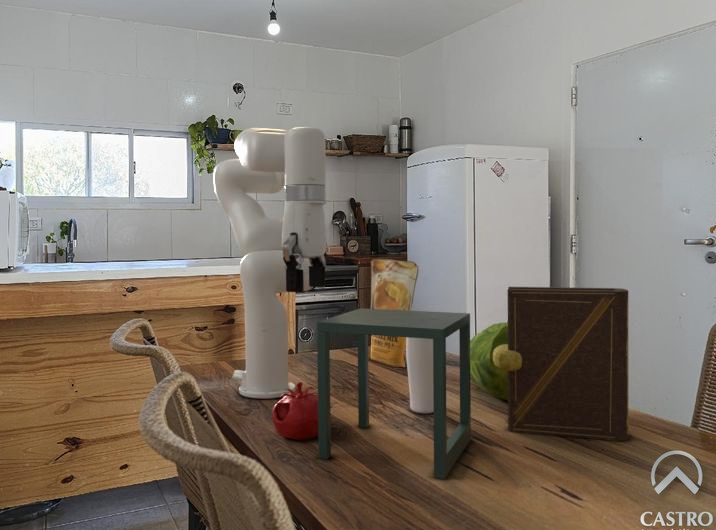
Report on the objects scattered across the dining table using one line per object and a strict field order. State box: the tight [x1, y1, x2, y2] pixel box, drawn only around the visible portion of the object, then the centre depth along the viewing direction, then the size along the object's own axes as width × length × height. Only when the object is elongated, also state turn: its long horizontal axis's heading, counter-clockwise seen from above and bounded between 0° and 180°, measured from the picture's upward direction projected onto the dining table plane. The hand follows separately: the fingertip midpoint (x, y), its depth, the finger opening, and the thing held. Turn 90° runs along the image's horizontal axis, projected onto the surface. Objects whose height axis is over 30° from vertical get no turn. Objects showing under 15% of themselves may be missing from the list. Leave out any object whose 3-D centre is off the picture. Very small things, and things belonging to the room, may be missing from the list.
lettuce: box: [470, 321, 508, 402], centre depth 129 cm, size 17×23×16 cm
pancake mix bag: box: [369, 258, 419, 368], centre depth 163 cm, size 7×19×28 cm, turn 28°
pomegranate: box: [271, 381, 319, 441], centre depth 105 cm, size 10×10×9 cm
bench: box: [316, 307, 472, 480], centre depth 97 cm, size 20×18×22 cm
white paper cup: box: [405, 337, 434, 414], centre depth 118 cm, size 7×7×15 cm
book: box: [493, 286, 629, 442], centre depth 105 cm, size 22×8×25 cm, turn 71°
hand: (306, 289), depth 110 cm, fingers open, 9 cm apart
